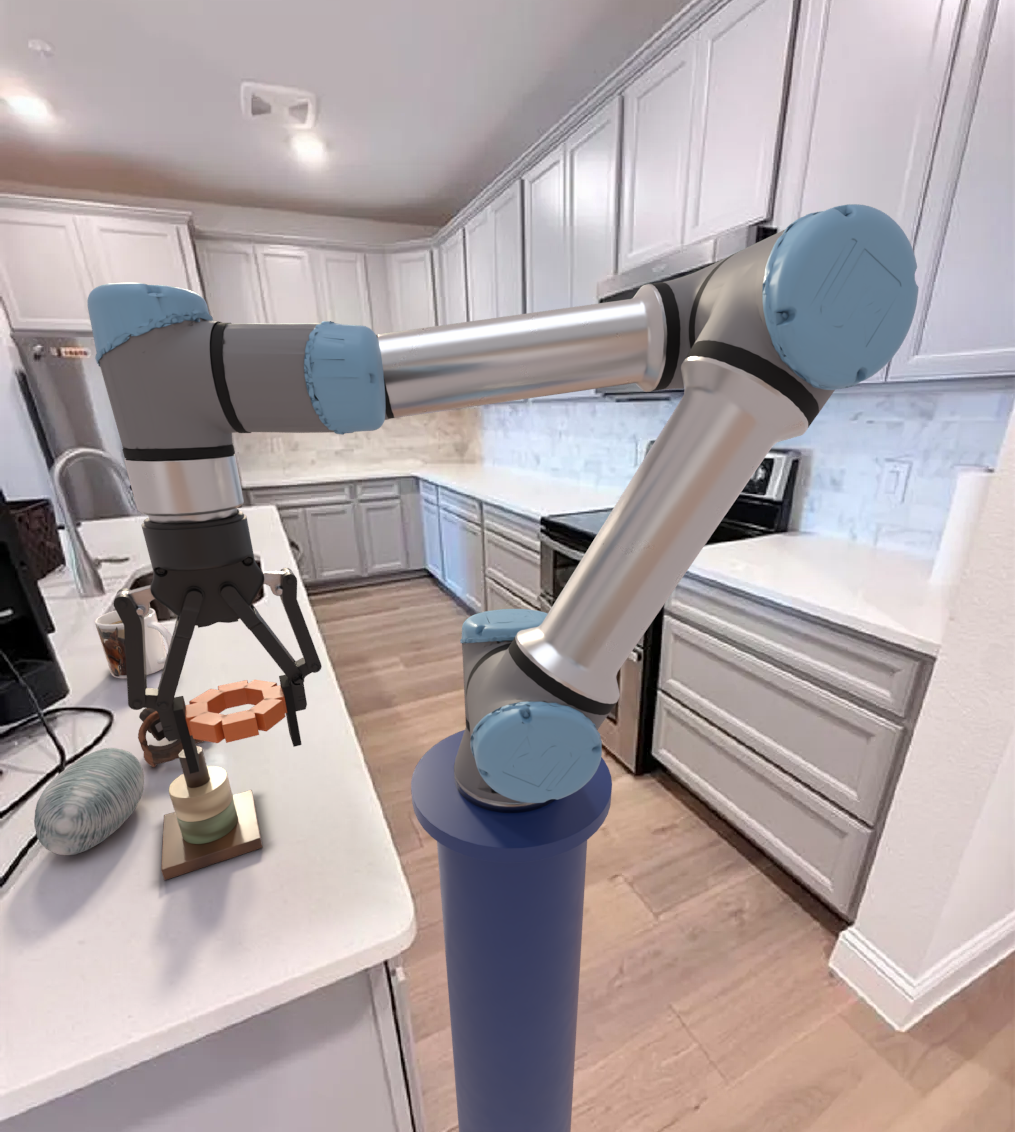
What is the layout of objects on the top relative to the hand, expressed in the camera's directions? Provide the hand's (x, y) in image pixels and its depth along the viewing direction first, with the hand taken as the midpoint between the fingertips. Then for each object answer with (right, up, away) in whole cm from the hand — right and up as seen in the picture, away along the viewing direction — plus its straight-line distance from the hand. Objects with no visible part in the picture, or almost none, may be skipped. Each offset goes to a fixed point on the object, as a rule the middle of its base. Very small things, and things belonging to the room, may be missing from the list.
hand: (246, 751), depth 53 cm
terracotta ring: (0, +3, -1) cm, 4 cm away
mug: (-47, +4, +56) cm, 74 cm away
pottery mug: (-25, -6, +31) cm, 40 cm away
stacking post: (-10, -13, +14) cm, 22 cm away
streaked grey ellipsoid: (-25, -13, +16) cm, 32 cm away
